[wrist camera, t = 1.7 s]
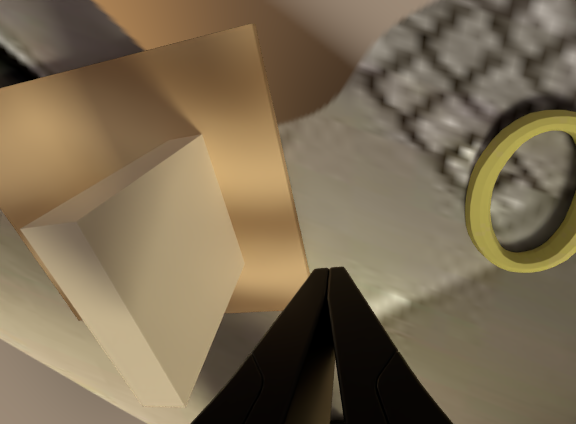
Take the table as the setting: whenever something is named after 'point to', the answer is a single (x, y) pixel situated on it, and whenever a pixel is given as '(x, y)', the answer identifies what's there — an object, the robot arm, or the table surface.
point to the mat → (154, 132)
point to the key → (560, 245)
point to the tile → (148, 266)
